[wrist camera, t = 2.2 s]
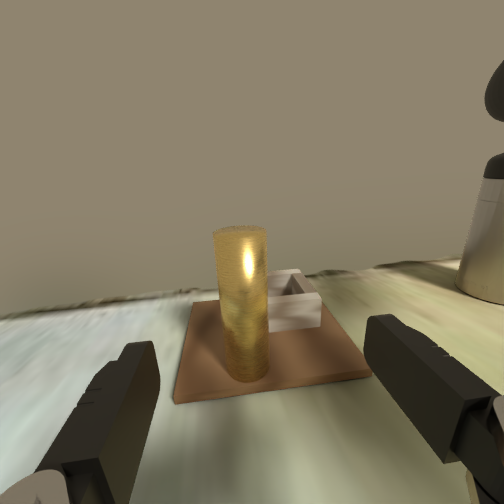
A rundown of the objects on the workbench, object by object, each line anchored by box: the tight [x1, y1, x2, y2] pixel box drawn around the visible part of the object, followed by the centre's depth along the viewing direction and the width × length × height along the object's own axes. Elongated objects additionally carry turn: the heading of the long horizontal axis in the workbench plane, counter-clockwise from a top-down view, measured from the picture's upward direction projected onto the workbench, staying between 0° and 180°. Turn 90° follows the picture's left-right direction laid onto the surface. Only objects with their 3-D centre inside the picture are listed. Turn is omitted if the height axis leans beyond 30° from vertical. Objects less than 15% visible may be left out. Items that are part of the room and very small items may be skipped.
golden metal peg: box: [213, 226, 270, 383], centre depth 22 cm, size 4×4×14 cm
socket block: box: [173, 269, 373, 404], centre depth 29 cm, size 19×16×5 cm
